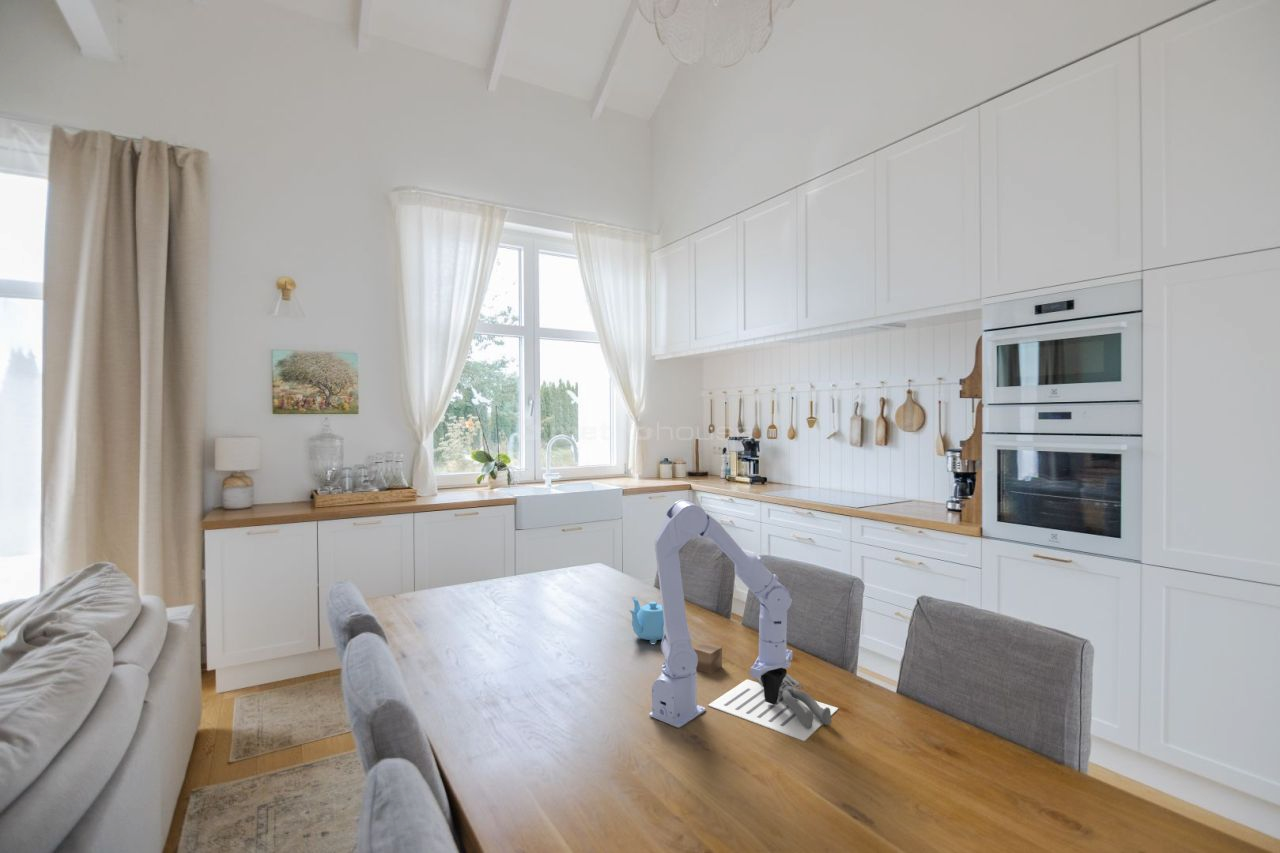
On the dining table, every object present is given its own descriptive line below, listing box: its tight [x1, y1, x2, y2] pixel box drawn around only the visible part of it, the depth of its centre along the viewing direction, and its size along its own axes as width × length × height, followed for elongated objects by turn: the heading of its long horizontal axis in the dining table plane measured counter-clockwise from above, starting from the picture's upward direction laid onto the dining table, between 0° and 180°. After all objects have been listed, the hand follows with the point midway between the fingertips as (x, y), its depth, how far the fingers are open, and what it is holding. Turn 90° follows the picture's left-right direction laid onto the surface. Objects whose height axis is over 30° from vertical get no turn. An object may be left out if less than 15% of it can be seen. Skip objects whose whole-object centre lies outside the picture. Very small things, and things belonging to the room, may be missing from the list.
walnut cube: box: [693, 642, 723, 675], centre depth 146 cm, size 5×5×5 cm
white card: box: [707, 679, 839, 742], centre depth 125 cm, size 16×22×1 cm
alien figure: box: [757, 673, 832, 729], centre depth 128 cm, size 8×5×25 cm
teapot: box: [628, 596, 664, 644], centre depth 166 cm, size 13×13×10 cm
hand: (771, 701), depth 126 cm, fingers closed, pressing on alien figure
